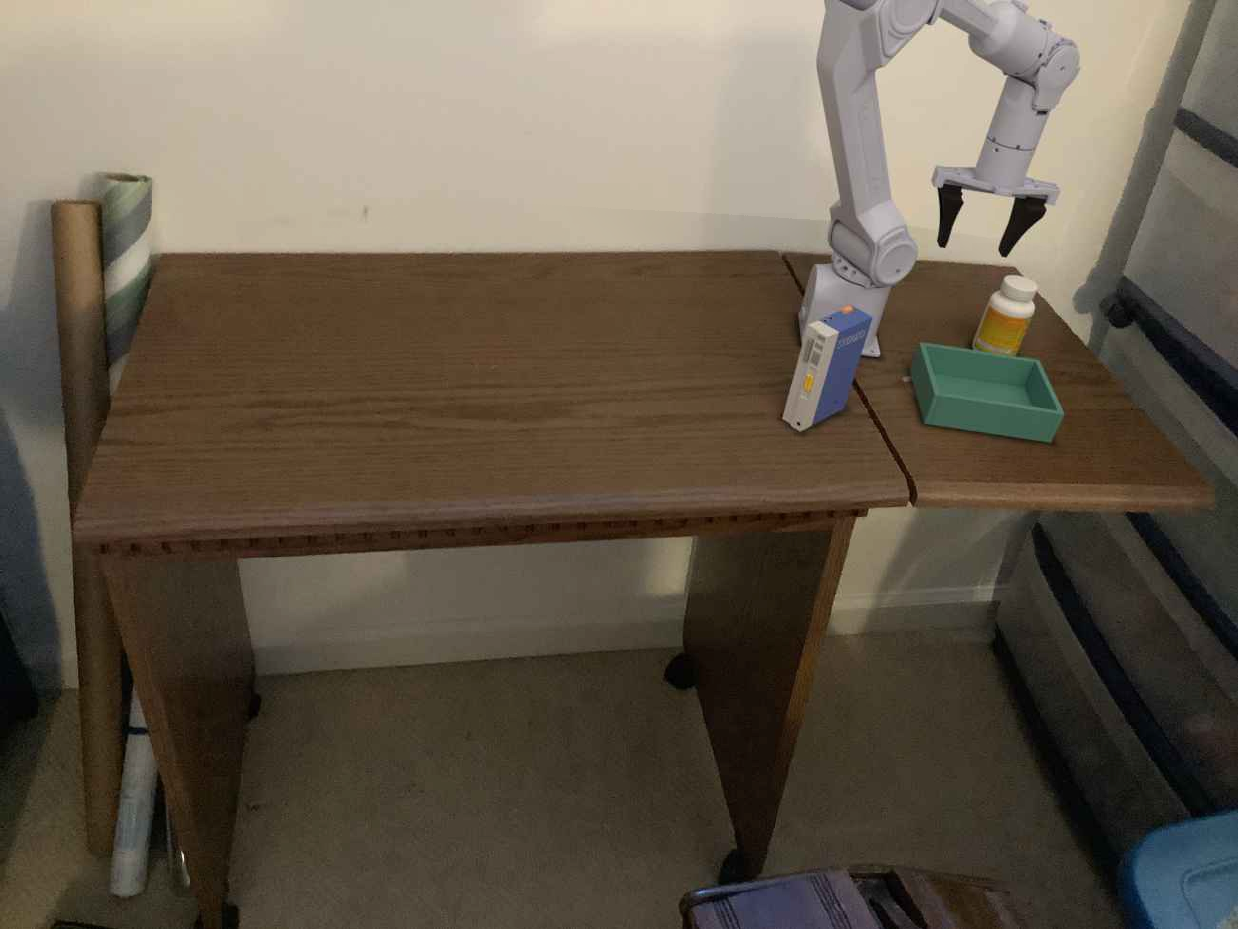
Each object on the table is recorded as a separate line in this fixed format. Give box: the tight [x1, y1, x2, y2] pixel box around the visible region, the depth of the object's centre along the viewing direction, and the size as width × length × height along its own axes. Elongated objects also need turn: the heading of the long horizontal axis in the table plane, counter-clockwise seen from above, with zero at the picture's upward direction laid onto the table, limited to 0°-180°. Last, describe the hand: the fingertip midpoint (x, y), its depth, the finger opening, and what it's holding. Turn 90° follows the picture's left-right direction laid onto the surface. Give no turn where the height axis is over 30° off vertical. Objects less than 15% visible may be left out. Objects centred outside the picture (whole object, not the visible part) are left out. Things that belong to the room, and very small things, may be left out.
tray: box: [908, 341, 1065, 444], centre depth 115 cm, size 14×11×4 cm
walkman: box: [781, 306, 873, 432], centre depth 106 cm, size 8×3×12 cm, turn 133°
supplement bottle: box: [971, 274, 1038, 357], centre depth 123 cm, size 5×5×10 cm
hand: (971, 249), depth 124 cm, fingers open, 7 cm apart
